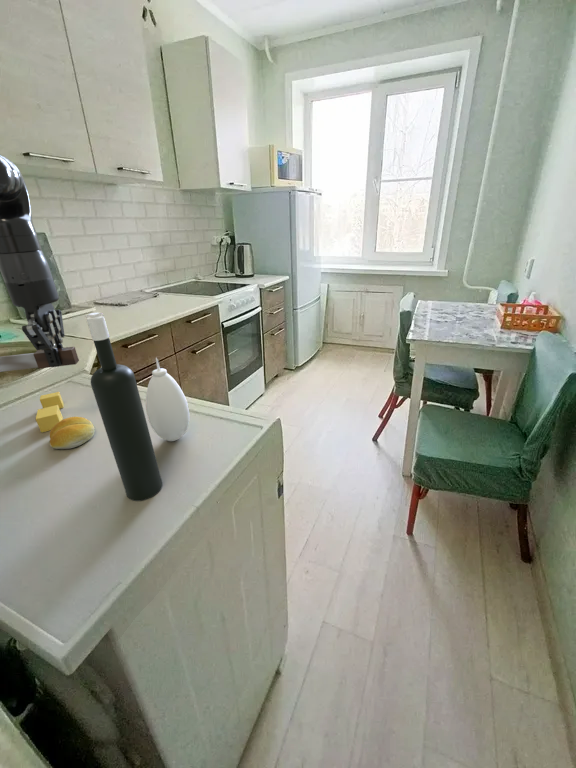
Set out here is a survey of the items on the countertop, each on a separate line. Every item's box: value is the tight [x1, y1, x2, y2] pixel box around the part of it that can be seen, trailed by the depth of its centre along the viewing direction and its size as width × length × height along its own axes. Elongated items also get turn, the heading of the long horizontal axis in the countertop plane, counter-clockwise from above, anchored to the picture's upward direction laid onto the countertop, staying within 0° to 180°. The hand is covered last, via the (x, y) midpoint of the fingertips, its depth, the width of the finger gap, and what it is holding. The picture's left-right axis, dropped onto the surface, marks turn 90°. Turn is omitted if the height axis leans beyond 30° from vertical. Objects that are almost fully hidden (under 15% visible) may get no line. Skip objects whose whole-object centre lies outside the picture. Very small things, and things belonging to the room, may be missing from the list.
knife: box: [0, 346, 80, 373], centre depth 72 cm, size 16×2×3 cm, turn 103°
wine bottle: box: [84, 311, 163, 502], centre depth 53 cm, size 6×6×30 cm
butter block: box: [35, 405, 64, 433], centre depth 79 cm, size 5×4×4 cm
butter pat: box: [39, 391, 65, 409], centre depth 87 cm, size 2×4×4 cm, turn 119°
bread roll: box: [49, 416, 96, 450], centre depth 74 cm, size 8×9×4 cm
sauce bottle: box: [145, 357, 191, 442], centre depth 69 cm, size 8×8×18 cm
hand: (58, 363), depth 73 cm, fingers closed on knife, 2 cm apart
